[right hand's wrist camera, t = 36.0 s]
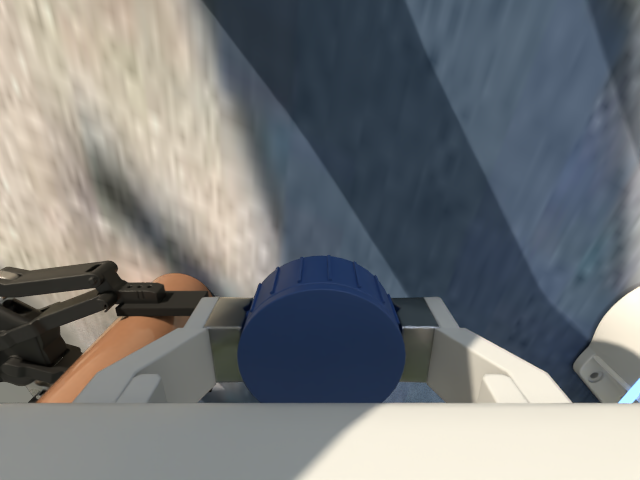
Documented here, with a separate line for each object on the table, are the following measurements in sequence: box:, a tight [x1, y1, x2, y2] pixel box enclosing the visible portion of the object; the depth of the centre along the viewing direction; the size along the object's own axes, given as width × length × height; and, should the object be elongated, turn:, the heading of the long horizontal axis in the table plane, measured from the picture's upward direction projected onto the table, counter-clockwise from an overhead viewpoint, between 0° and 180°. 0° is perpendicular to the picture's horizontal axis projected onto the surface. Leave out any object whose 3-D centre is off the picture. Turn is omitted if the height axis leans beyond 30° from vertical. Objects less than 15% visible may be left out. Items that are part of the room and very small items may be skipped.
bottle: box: [35, 273, 212, 403], centre depth 25 cm, size 7×7×23 cm
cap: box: [237, 255, 406, 403], centre depth 9 cm, size 4×4×2 cm
